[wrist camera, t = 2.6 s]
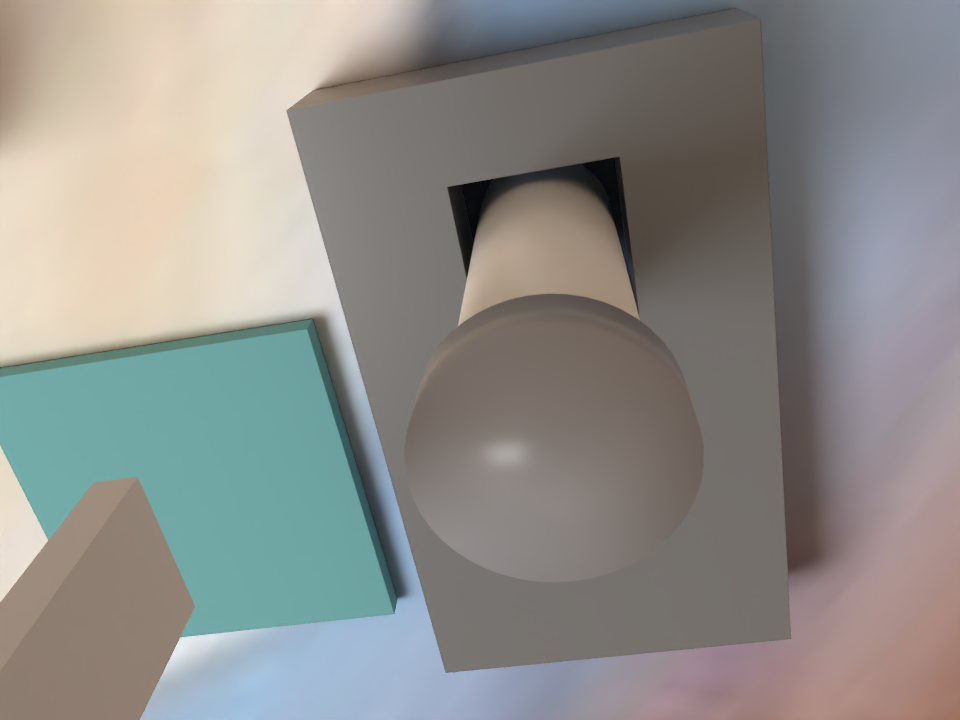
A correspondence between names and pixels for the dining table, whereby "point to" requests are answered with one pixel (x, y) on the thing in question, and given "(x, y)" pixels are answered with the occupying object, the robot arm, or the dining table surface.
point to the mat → (212, 468)
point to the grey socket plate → (655, 284)
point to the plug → (552, 397)
